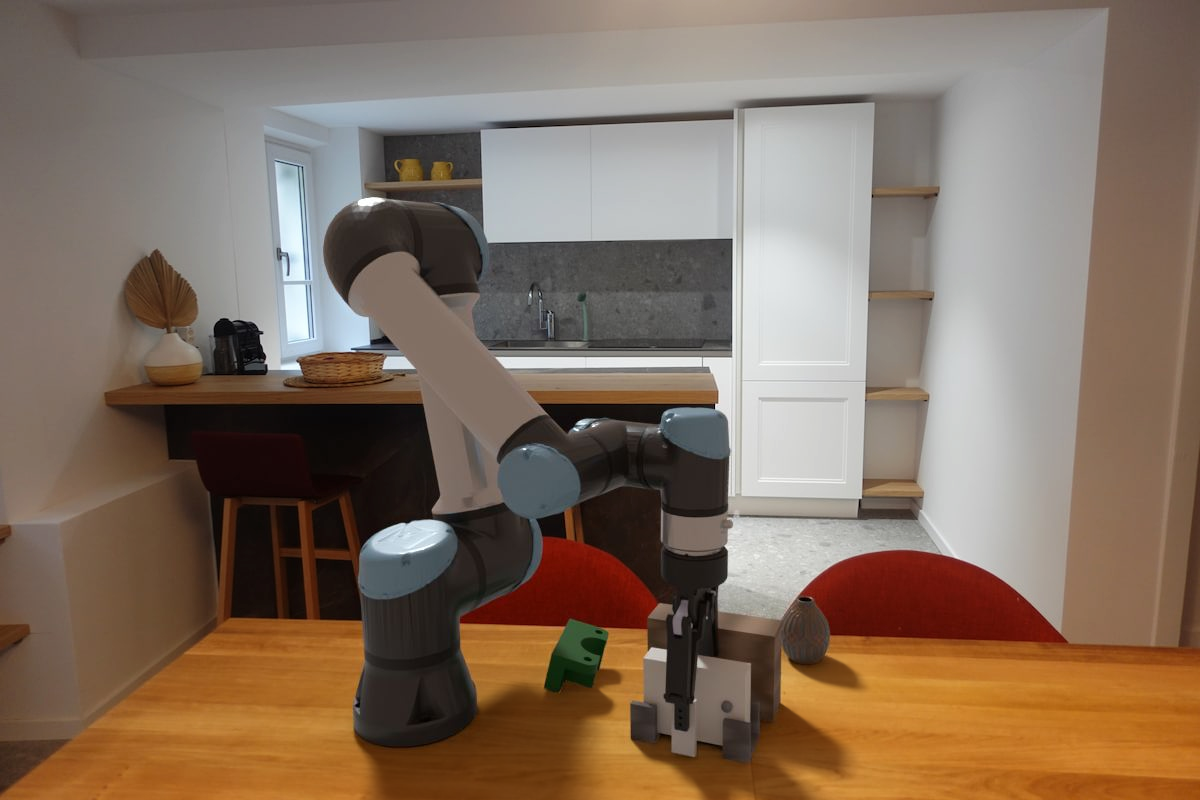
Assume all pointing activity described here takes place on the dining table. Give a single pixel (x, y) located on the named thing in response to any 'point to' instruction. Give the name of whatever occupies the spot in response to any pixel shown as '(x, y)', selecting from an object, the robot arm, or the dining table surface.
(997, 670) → the dining table surface
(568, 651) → the clamp
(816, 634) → the vase
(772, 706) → the cabinet
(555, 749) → the dining table surface
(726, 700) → the door
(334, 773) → the dining table surface
